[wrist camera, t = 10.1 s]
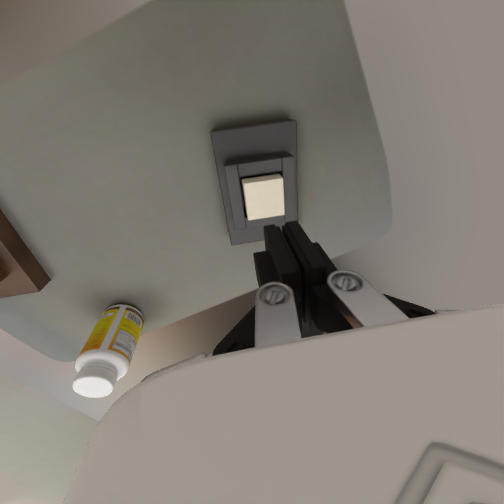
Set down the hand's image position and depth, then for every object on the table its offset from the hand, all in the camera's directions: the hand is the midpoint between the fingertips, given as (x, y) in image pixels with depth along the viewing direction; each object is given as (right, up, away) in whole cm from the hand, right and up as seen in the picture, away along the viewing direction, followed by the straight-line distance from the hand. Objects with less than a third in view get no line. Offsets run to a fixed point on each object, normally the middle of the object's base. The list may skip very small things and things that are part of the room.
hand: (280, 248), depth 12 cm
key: (0, +6, +11) cm, 13 cm away
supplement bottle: (-20, -9, +22) cm, 31 cm away
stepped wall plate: (-1, +7, +14) cm, 16 cm away
